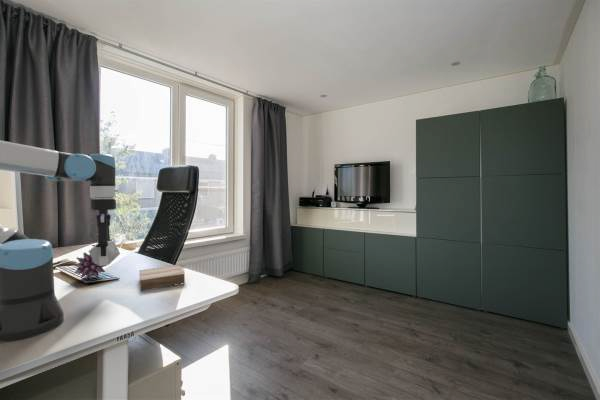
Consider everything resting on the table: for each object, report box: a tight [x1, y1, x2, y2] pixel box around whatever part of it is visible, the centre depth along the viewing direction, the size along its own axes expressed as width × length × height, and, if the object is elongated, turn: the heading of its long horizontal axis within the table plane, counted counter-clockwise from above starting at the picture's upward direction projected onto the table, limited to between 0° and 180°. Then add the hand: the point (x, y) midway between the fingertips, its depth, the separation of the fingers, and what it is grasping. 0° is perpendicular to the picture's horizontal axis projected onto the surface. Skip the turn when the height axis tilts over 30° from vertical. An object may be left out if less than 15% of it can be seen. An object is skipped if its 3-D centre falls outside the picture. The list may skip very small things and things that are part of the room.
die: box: [88, 240, 121, 265], centre depth 106 cm, size 8×9×10 cm
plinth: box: [139, 264, 185, 292], centre depth 119 cm, size 15×15×4 cm
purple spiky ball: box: [73, 252, 108, 279], centre depth 125 cm, size 12×12×12 cm
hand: (104, 262), depth 106 cm, fingers closed on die, 8 cm apart
